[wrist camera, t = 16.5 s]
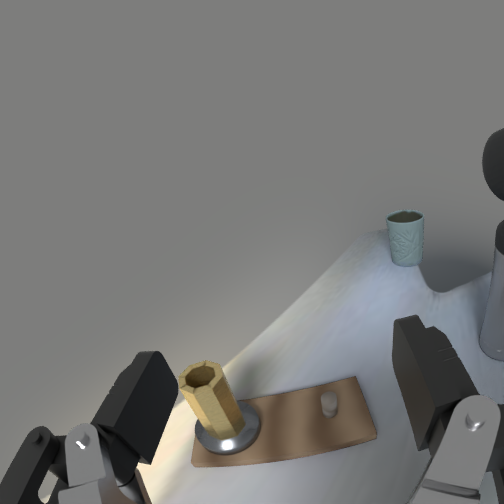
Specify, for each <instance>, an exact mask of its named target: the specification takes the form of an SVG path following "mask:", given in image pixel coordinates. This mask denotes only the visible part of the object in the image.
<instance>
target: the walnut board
mask: <svg viewBox="0 0 504 504" xmlns="http://www.w3.org/2000/svg"><path fill="white" fill-rule="evenodd" d="M240 401H242V402H245V403H247V404H249V405H251V406H252V407H253V408H254V409H255V411H256V412H257V415H258V417H259V419H260V422H261V431H260V434H259V436H258V438H257V440H256V441H255V442H254V443H253V444H252V446H250V447H249V448H248V449H246V450H244V451H242V452H240V453H237V454H234V455H228V456H223V455H216V454H213V453H211V452H209V451H207V450H206V449H205V448H204V447H203V446H202V445H201V443H200V442H199V441H198V439H197V437H196V434H195V440H194V446H193V452H192V459H191V463H192V464H193V466H194V467H224V466H240V465H251V464H260V463H269V462H276V461H283V460H289V459H295V458H301V457H306V456H311V455H316V454H321V453H325V452H330V451H334V450H338V449H342V448H346V447H349V446H353V445H356V444H360V443H363V442H367V441H370V440H373V439H376V435H377V432H376V429H375V427H374V424H373V421H372V418H371V416H370V413H369V410H368V407H367V405H366V402H365V399H364V397H363V394H362V391H361V389H360V386H359V384H358V381H357V378H356V376H354V377H351V378H347V379H343V380H340V381H336V382H332V383H328V384H324V385H320V386H316V387H311V388H307V389H302V390H298V391H293V392H288V393H283V394H277V395H272V396H266V397H260V398H254V399H247V400H240Z"/></svg>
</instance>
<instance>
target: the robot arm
mask: <svg viewBox="0 0 504 504" xmlns="http://www.w3.org/2000/svg"><path fill="white" fill-rule="evenodd" d="M482 165H483V173H484V177H485V180H486V182H487V184H488V186H489V188H490V189H491V191H492V192H493V193H494V194H495V195H496V196H497V197H498V198H499V199H501V200H503V201H504V128H503V129H501V130H499V131H497V132H495V133H493V134H492V135H491V136H490V137H489V139H488V141H487V143H486V145H485V148H484V152H483V160H482ZM479 343H480V346H481V349H482V350H483V351H484V353H485V354H487V355H488V356H489V357H491V358H493V359H496V360H501V361H504V220H503V221H502V222H501V223H500V224H499V225H498V227H497V230H496V238H495V251H494V262H493V271H492V278H491V285H490V291H489V297H488V303H487V308H486V313H485V317H484V322H483V326H482V330H481V334H480V339H479ZM392 362H393V368H394V372H395V375H396V378H397V381H398V384H399V387H400V390H401V393H402V396H403V399H404V403H405V406H406V409H407V412H408V416H409V419H410V423H411V426H412V430H413V433H414V437H415V441H416V444H417V448H418V451H421V450H424V449H427V448H429V451H430V455H431V458H430V460H429V462H428V464H427V466H426V468H425V470H424V472H423V474H422V476H421V478H420V480H419V482H418V483H417V485H416V487H415V489H414V490H413V492H412V494H411V496H410V497H409V499H408V501H407V502H406V504H479V502H480V494H479V487H480V484H481V482H482V479H483V477H484V474H485V472H489V471H492V473H493V478H494V482H495V486H496V491H497V496H498V501H499V504H504V404H502V405H499V404H496V403H495V402H494V401H493V400H492V399H490V398H489V397H486V396H482V395H480V394H479V393H478V391H477V390H476V388H475V386H474V384H473V382H472V380H471V378H470V376H469V374H468V373H467V371H466V369H465V367H464V365H463V364H462V362H461V360H460V358H459V357H458V356H457V353H456V351H455V350H454V348H452V345H451V343H450V341H449V340H448V338H447V336H446V335H445V334H444V333H443V332H441V331H440V330H438V329H437V328H435V327H434V326H433V327H429V328H425V327H424V325H423V323H422V321H421V320H420V318H419V316H418V315H413V316H409V317H405V318H401V319H396V320H395V321H394V330H393V349H392ZM177 395H178V383H177V380H176V378H175V376H174V375H173V373H172V371H171V369H170V368H169V366H168V364H167V362H166V360H165V359H164V357H163V355H162V354H161V353H160V352H159V351H148V352H146V351H145V352H139V353H138V354H137V355H136V357H135V359H134V360H133V362H132V364H131V365H129V366H128V367H127V368H126V369H125V370H124V371H123V372H121V374H120V375H119V376H118V378H117V380H116V381H115V383H114V386H112V388H111V390H110V391H109V394H108V395H107V396H106V398H105V400H104V401H103V403H102V405H101V406H100V408H99V410H98V411H97V413H96V415H95V417H94V418H93V420H92V422H91V423H90V424H87V423H85V424H80V425H78V426H76V427H74V428H73V429H72V430H71V431H70V432H69V433H68V435H66V436H54V435H53V434H52V433H51V431H50V430H49V429H48V428H46V427H44V426H40V427H37V428H35V429H33V430H32V431H31V432H30V433H29V434H28V435H27V437H26V439H25V440H24V442H23V444H22V445H21V447H20V449H19V451H18V452H17V454H16V456H15V458H14V459H13V461H12V463H11V465H10V467H9V468H8V470H7V472H6V474H5V476H4V478H3V480H2V482H1V484H0V504H44V503H43V502H41V500H40V499H39V497H38V490H39V488H40V486H41V484H42V482H43V480H44V477H45V475H46V473H47V471H48V470H49V471H50V472H52V473H53V474H54V475H55V476H57V477H58V481H57V483H56V485H55V488H54V490H53V492H52V494H51V496H50V499H49V501H48V502H47V503H46V504H152V503H151V500H150V498H149V495H148V493H147V490H146V488H145V485H144V482H143V480H142V477H141V474H140V472H139V470H138V469H137V468H136V467H137V464H138V462H139V463H144V464H150V465H151V463H152V460H153V458H154V455H155V452H156V450H157V447H158V444H159V442H160V439H161V437H162V434H163V432H164V429H165V426H166V424H167V421H168V419H169V416H170V413H171V411H172V408H173V406H174V403H175V401H176V398H177Z"/></svg>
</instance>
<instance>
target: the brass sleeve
mask: <svg viewBox="0 0 504 504" xmlns="http://www.w3.org/2000/svg"><path fill="white" fill-rule="evenodd" d="M179 389H180V390H181V392H182V394H183V395H184V397H185V399H186V400H187V402H188V404H189V405H190V407H191V408H192V410H193V411H194V413H195V415H196V416H197V418H198V419H199V421H200V422H201V424H202V425H203V427H204V428H205V430H206V431H207V433H208V434H209V436H212V437H214V438H216V439H219V440H221V441H223V440H226V439H230V438H233V437H236V436H238V435H239V433H240V432H241V431H242V429H243V428H244V426H245V425H246V423H245V420H244V417H243V414H242V412H241V410H240V408H239V406H238V404H237V401H236V399H235V397H234V395H233V393H232V391H231V388H230V386H229V384H228V382H227V379H226V377H225V375H224V373H223V370H222V368H221V366H220V364H218V363H214V362H210V361H206V360H205V361H203V362H199V363H196V364H193V365H190V366H188V367H187V368H186V370H184V371H183V372H182V374H181V375H180V376H179Z"/></svg>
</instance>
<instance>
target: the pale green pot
mask: <svg viewBox="0 0 504 504" xmlns="http://www.w3.org/2000/svg"><path fill="white" fill-rule="evenodd" d="M386 222H387V227H388V231H389V240H390V247H391V255H392V261H393V263H395V264H396V265H399V266H403V267H410V266H415V265H417V264H419V263H420V262H421V261H422V258H423V249H422V248H423V239H424V238H423V237H424V236H423V233H424V231H423V230H424V214H423V213H421V212H419V211H416V210H399V211H395V212H392V213H390V214H388V215H387V216H386Z"/></svg>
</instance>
